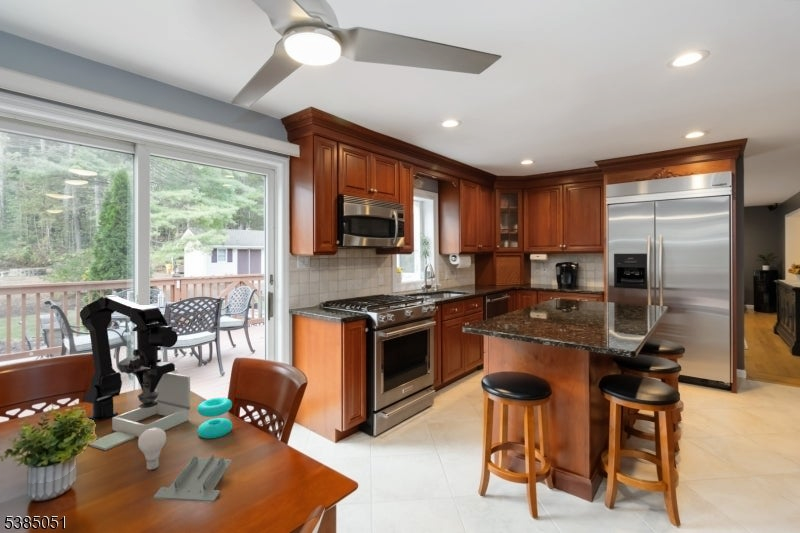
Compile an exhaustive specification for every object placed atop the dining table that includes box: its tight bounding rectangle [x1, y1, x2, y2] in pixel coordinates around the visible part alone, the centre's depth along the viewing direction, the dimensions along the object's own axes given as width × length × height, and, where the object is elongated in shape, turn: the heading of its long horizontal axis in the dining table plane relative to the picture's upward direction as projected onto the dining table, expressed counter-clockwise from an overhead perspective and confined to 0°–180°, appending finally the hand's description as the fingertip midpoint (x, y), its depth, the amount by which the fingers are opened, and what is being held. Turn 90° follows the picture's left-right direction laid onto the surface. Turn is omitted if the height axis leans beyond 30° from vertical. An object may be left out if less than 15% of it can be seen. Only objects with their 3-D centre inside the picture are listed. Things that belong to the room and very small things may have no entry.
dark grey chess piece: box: [137, 370, 159, 408], centre depth 128 cm, size 6×6×12 cm
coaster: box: [88, 431, 136, 451], centre depth 117 cm, size 8×8×1 cm
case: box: [111, 373, 191, 438], centre depth 129 cm, size 16×16×15 cm
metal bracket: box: [153, 453, 233, 504], centre depth 95 cm, size 14×6×15 cm
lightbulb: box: [137, 427, 167, 471], centre depth 102 cm, size 6×6×11 cm
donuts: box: [197, 397, 233, 439], centre depth 123 cm, size 10×10×10 cm
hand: (148, 391), depth 128 cm, fingers closed on dark grey chess piece, 3 cm apart
